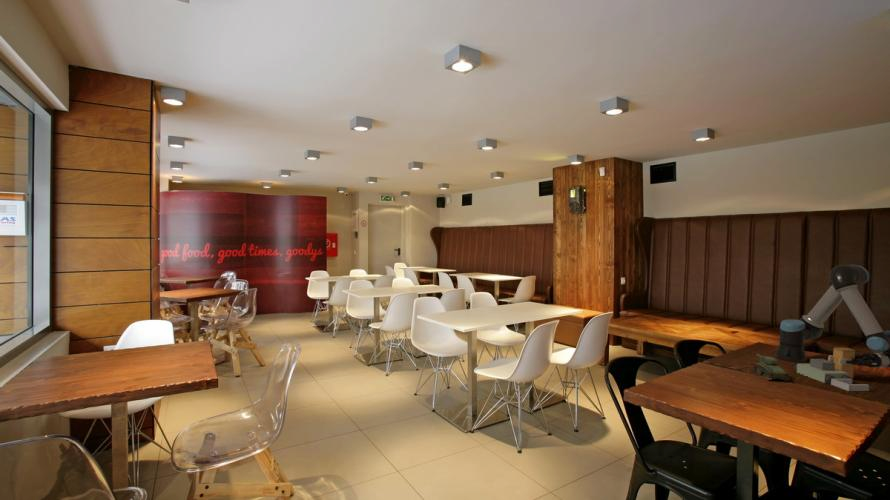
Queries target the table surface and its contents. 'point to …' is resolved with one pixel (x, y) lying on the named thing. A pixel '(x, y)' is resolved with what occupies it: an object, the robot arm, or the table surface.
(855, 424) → the table surface
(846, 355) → the tan wooden block
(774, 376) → the toy
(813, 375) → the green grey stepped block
